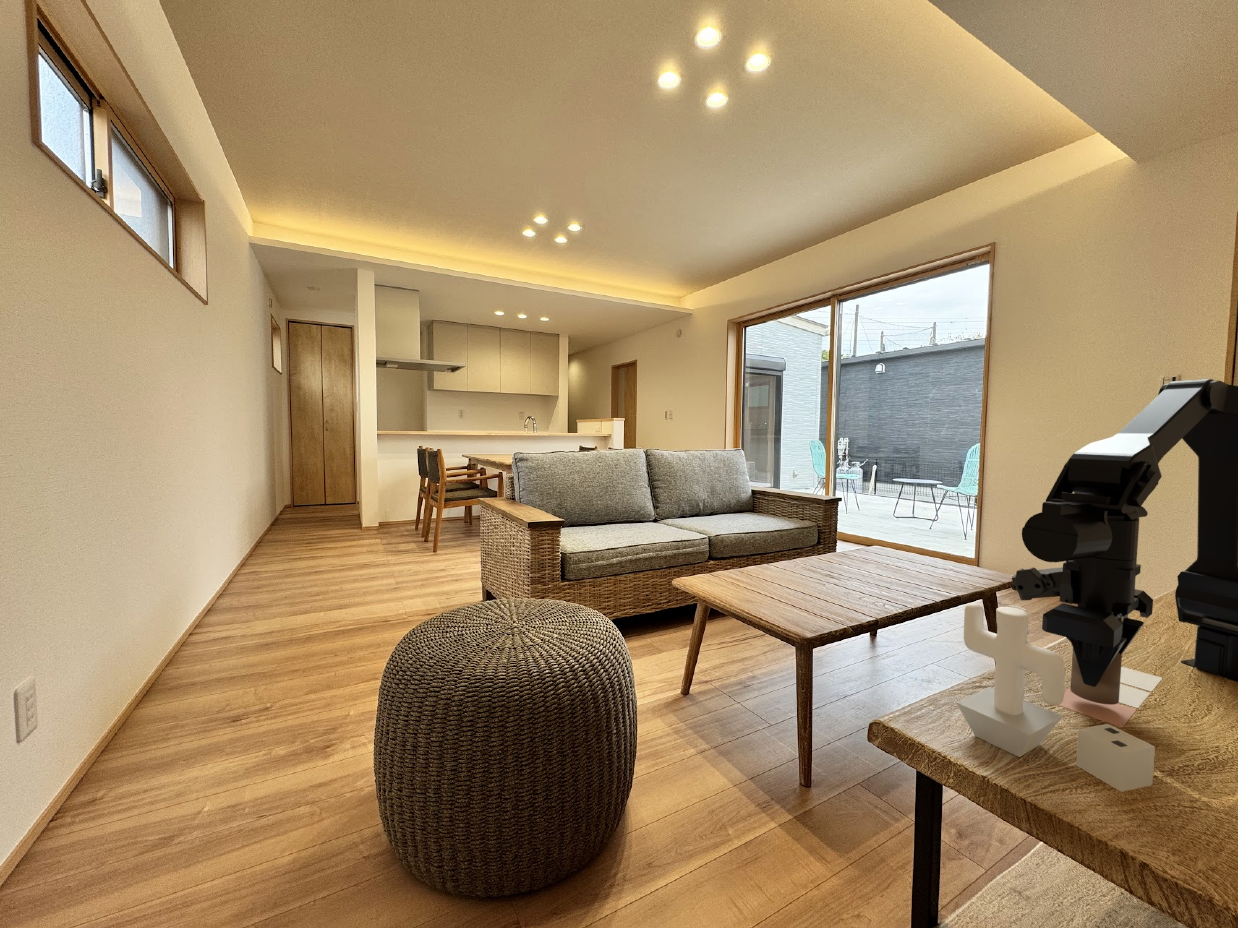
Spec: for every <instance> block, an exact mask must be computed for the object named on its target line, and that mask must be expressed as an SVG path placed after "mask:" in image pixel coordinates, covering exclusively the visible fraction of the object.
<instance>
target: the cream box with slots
mask: <svg viewBox="0 0 1238 928" xmlns="http://www.w3.org/2000/svg"><path fill="white" fill-rule="evenodd" d="M1076 742H1077V743H1076V744H1077V745H1076V761H1075V762H1076V765H1075V766H1077V767H1078V768H1080V769H1081V770H1084V772H1087V773H1088V774H1090V775H1091V776H1094V777H1095V778H1097V779H1099V780H1100V781H1102V782H1104V783H1105V784H1107V785H1109V786H1111V787H1112V788H1114V789H1115V790H1117V791H1119V792H1129V791H1132V790H1136V789H1137V790H1138V789H1141V788H1142V789H1143V788H1146V787H1151V786H1153V782H1154V780H1153V779H1154V769H1155V767H1154V766H1155V752H1156V750H1155V749H1156V746H1154V745H1153V744H1150V743H1149V742H1147V741H1145V740H1143V739H1140V738H1139V737H1136V736H1134V735H1132V734H1131V733H1128V732H1126V731H1124V730H1122V729H1120V728H1117V726H1116V727H1115V726H1114V725H1112V724H1110V723H1105V724H1099V725H1093V726H1087V727H1081V728H1078V729H1077V741H1076Z"/></svg>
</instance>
